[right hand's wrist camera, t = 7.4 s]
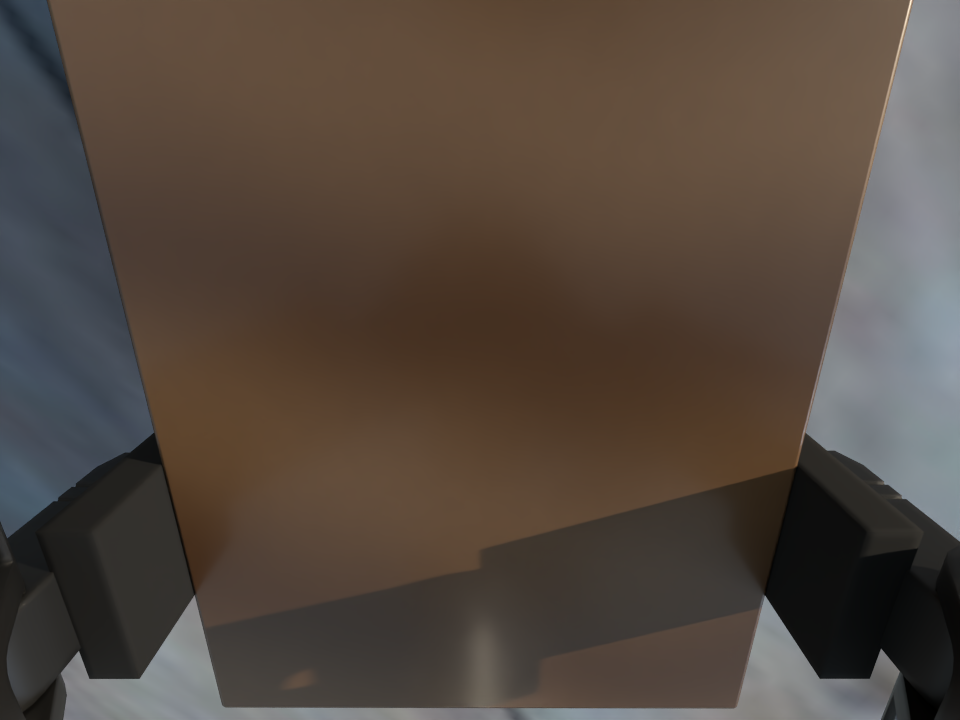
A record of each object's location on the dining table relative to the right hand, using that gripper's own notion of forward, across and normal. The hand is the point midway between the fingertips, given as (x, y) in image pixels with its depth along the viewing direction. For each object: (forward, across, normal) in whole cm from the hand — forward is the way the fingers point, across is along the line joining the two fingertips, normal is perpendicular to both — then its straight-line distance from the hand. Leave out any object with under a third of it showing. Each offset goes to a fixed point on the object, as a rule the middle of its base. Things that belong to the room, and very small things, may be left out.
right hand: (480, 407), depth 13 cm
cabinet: (+6, 0, -4) cm, 7 cm away
